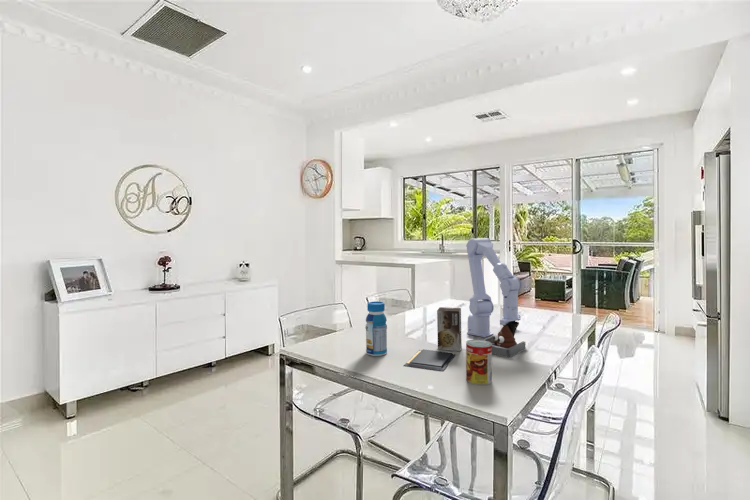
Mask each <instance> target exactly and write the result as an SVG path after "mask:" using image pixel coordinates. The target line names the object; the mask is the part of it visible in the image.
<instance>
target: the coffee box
mask: <svg viewBox="0 0 750 500" xmlns="http://www.w3.org/2000/svg"><path fill="white" fill-rule="evenodd" d="M436 312H437V313H436V316H437V317H436V321H437V350H440V351H443V350H444V351H454V352H455V351H457V352H458V351H459V352H460V351H461V349H462V345H463V344H462V307H447V306H446V307H441V306H440V307H438V309H437V310H436Z"/></svg>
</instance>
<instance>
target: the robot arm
mask: <svg viewBox="0 0 750 500" xmlns="http://www.w3.org/2000/svg"><path fill="white" fill-rule="evenodd" d="M465 247H466V253H467V258H468V264H469V272H470V277H471V284H472V290H473V291H472V292H473V295H472V296H471V297H470V298H469V307H468V308H469V311H470V314H469V315H468V317H467V332H466V334H467V335H471V336H475V337H481V338H488V337H490V336H491V335H492V336H493V335H494V332H491V330H490V329H491V328H490V327H491V326H490V325H491V321H490V319H491V318H490V317H491V315H492V313H493V312H494V309H495V306H494V302H493V300H492V297H491V296H490V295H489V294H487V292H486V286H485V280H484V273H483V272H484V271H483V265H482V259H483V257H485V258H486V259H487V261H488V262H489V263H490V264H491V265H492V267H493V269H492V271H493V273H494V274H495V276H496V277H497V279H498V281H499V287H500V290H501V295H502V297H503V298H502V299H503V301H502V304H503V305H502V306H503V314H502V317H501V318H500V320H499V325H501V326H502V327H503V326H506V325H508V328H509V329H510V331H511V332H512V334H513V336H514V337H515V334H516V331H517V328H518V327H519V325H520V322H519V321H521V314H519V291H520V290H521V288H522V281H521V280H520V278H519V277H517V276H515V275H513V274H512V272H511V270H510V269H509V267H508V266H507V264H506V263H503V262H501V261H500V259H499V256H498V255H497V254H496V252H495V250H494V249H493V248H494V243H493V242H492V241H491V239H490V238H488V237H484V238H483V237H482V238H474V237H471V238H470V239H469V240H468V241H467V243H466V245H465Z"/></svg>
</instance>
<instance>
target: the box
mask: <svg viewBox="0 0 750 500" xmlns="http://www.w3.org/2000/svg"><path fill="white" fill-rule="evenodd" d="M493 337H494V335H492V336H491V335H490V336H487V337H485V338H484V339H482V340H485V341H489V342H491V343H492V355H496V356H501V357H504V358H505V357H506V358H508V359H509V358H511V357H513V356H515V355H517V354H519V353H521V352H523V351H525V350H526V341H521V342H519V343H517V344H516V345H514V346H512V347H510V348H508V349H507V348H503V347H498V346H495V345H494V341H495V340H494V339H493Z"/></svg>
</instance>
